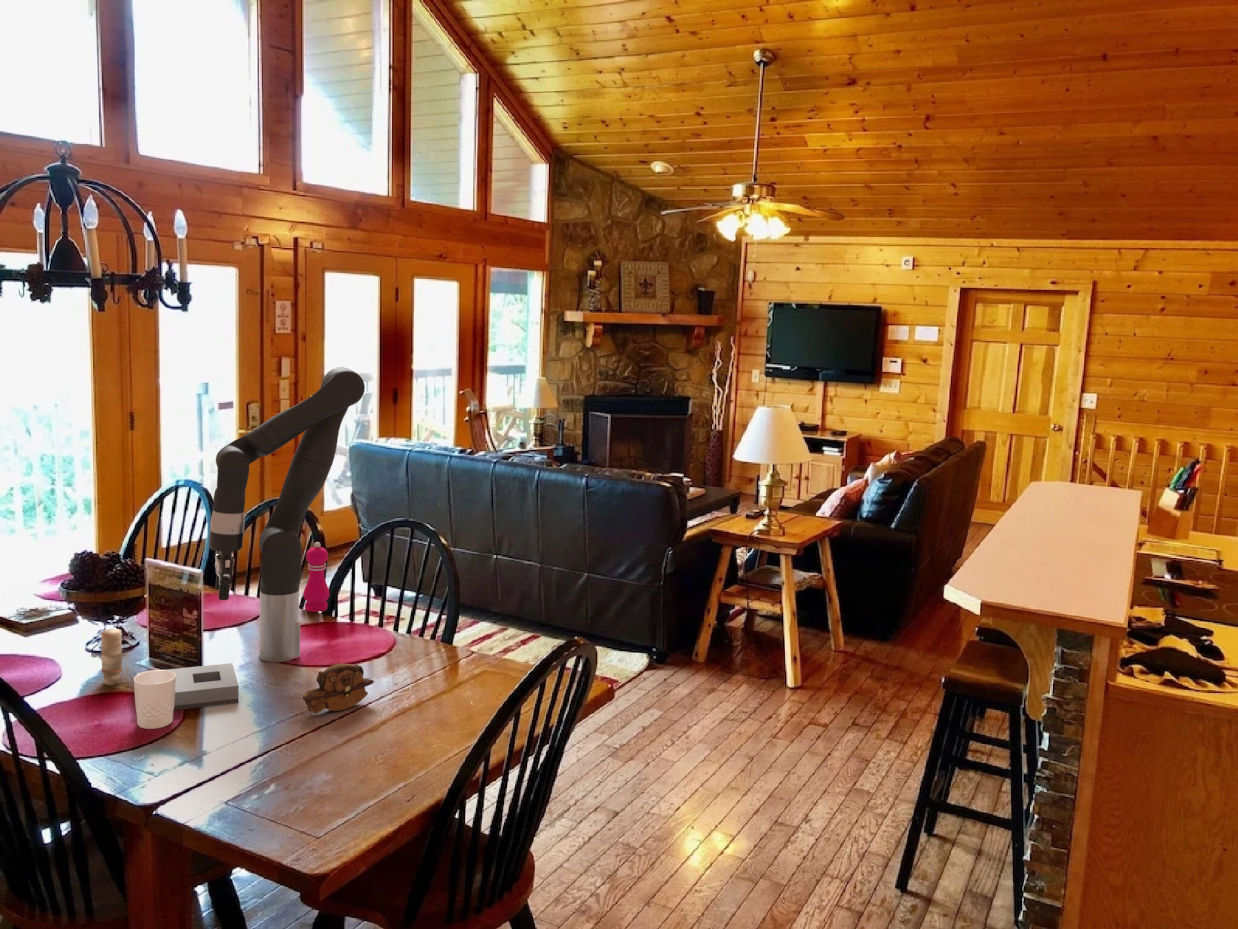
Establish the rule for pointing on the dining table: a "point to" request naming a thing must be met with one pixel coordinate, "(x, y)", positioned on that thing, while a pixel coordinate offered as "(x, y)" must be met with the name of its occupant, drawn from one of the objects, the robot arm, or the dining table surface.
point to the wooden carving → (337, 688)
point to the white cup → (154, 698)
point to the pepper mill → (316, 580)
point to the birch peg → (111, 656)
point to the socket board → (205, 686)
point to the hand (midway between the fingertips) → (221, 594)
